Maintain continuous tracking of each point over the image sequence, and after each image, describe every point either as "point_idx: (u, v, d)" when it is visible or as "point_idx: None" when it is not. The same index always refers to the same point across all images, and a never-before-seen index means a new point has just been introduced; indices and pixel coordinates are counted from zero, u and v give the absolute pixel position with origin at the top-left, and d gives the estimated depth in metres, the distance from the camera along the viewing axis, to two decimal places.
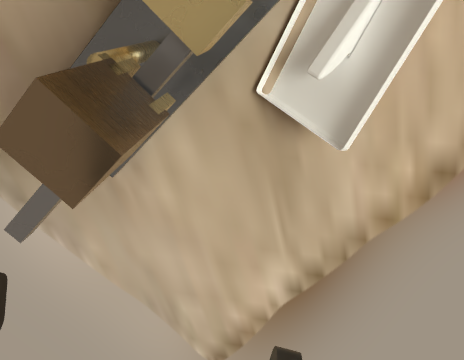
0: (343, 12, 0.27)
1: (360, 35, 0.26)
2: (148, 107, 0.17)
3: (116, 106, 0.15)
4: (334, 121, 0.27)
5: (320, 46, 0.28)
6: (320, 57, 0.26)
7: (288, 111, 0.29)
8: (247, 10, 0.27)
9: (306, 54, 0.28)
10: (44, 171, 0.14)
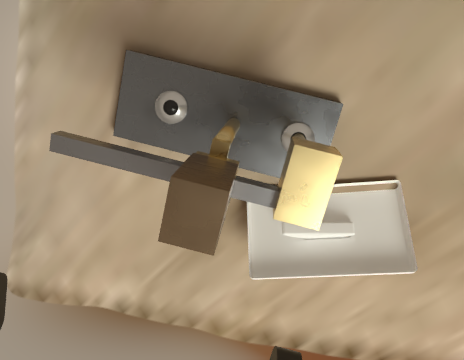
0: (326, 217, 0.38)
1: (320, 238, 0.37)
2: (226, 210, 0.25)
3: (225, 211, 0.23)
4: (262, 257, 0.37)
5: None
6: (295, 225, 0.36)
7: (248, 221, 0.38)
8: None
9: None
10: (172, 215, 0.20)
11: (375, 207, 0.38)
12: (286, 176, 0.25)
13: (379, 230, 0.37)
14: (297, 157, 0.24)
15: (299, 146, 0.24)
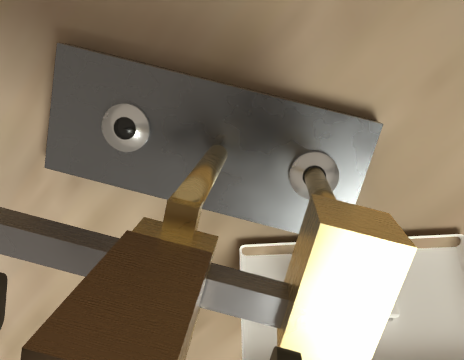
0: None
1: None
2: (188, 344, 0.13)
3: None
4: (262, 348, 0.25)
5: None
6: None
7: None
8: None
9: None
10: None
11: (427, 273, 0.26)
12: (303, 281, 0.13)
13: (435, 310, 0.25)
14: (324, 248, 0.12)
15: (330, 227, 0.12)
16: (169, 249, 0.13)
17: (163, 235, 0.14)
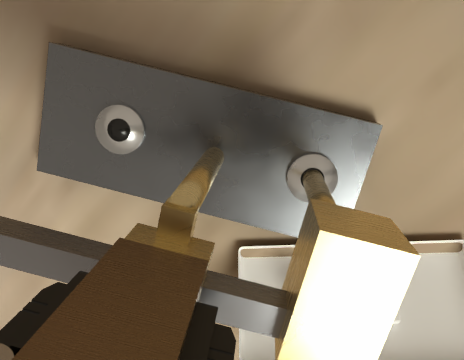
0: None
1: None
2: None
3: None
4: (260, 352, 0.25)
5: None
6: None
7: None
8: None
9: None
10: None
11: (428, 279, 0.25)
12: (302, 290, 0.12)
13: (436, 316, 0.24)
14: (324, 256, 0.12)
15: (330, 234, 0.12)
16: (163, 257, 0.12)
17: (157, 242, 0.14)
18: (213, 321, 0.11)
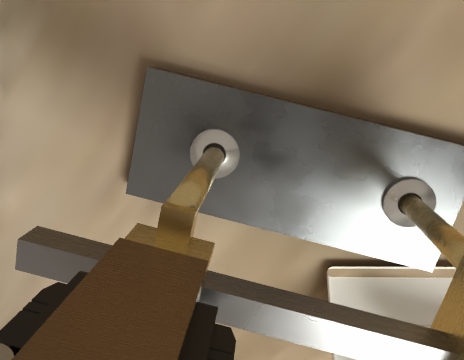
0: None
1: None
2: None
3: None
4: None
5: (406, 310, 0.26)
6: None
7: None
8: (398, 247, 0.25)
9: (390, 298, 0.26)
10: None
11: None
12: None
13: None
14: None
15: None
16: (163, 257, 0.12)
17: (157, 242, 0.14)
18: (213, 321, 0.11)
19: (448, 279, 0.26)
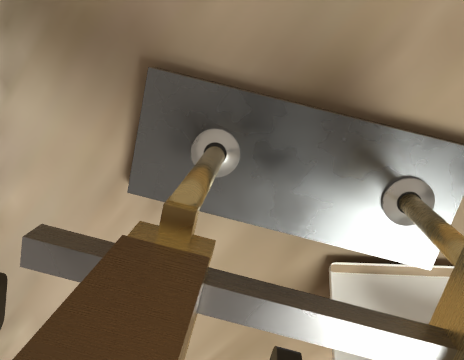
0: None
1: None
2: (186, 351, 0.13)
3: None
4: None
5: (407, 307, 0.26)
6: None
7: None
8: (397, 245, 0.25)
9: (391, 295, 0.26)
10: None
11: None
12: None
13: None
14: None
15: None
16: (165, 254, 0.13)
17: (159, 239, 0.14)
18: None
19: None
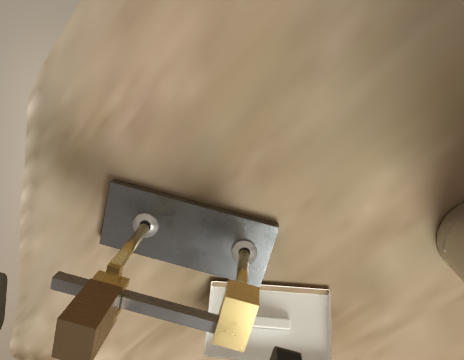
0: (271, 311, 0.48)
1: (263, 327, 0.47)
2: (112, 321, 0.35)
3: (104, 329, 0.33)
4: None
5: None
6: None
7: (209, 306, 0.48)
8: None
9: None
10: (59, 341, 0.30)
11: (309, 308, 0.48)
12: (220, 316, 0.35)
13: (309, 328, 0.47)
14: (227, 305, 0.34)
15: (229, 298, 0.34)
16: (105, 286, 0.35)
17: (105, 279, 0.36)
18: None
19: (275, 291, 0.49)
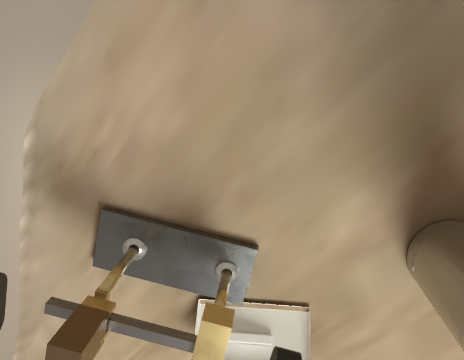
0: (254, 327, 0.51)
1: (247, 343, 0.51)
2: (100, 343, 0.38)
3: (91, 352, 0.36)
4: None
5: (235, 323, 0.52)
6: None
7: (196, 323, 0.52)
8: None
9: None
10: None
11: (290, 324, 0.51)
12: (197, 338, 0.38)
13: (290, 343, 0.50)
14: (203, 327, 0.38)
15: (204, 321, 0.37)
16: (93, 311, 0.38)
17: (93, 304, 0.40)
18: None
19: (258, 309, 0.52)
